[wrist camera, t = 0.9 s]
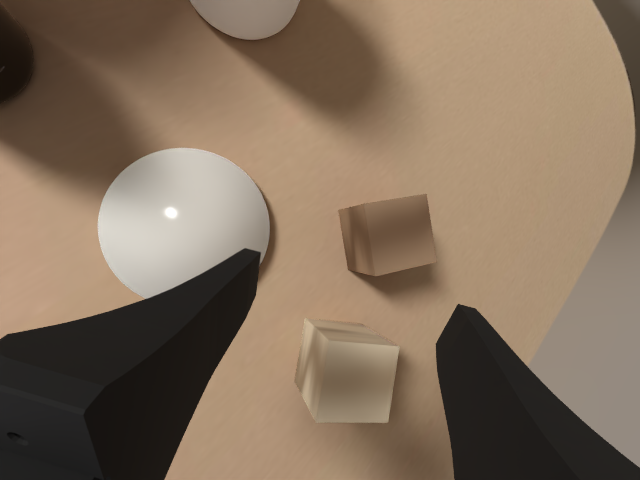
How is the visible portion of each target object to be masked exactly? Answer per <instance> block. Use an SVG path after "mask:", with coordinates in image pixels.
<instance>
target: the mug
mask: <svg viewBox="0 0 640 480" xmlns="http://www.w3.org/2000/svg"><path fill="white" fill-rule="evenodd" d="M190 2H191V4H192V5H193V7H194V8H195V9H196V11H197V12H198V13H199V14H200V15H201V16H202V17H203V18H204V19H205V20H206V21H207V22H208V23H209V24H211V25H212V26H214V27H215V28H216V29H218V30H220V31H221V32H223V33H225V34H228V35H230V36H233V37H236V38H240V39H246V40H257V39H263V38H267V37H270V36H272V35H275V34H276V33H278V32H280V31H281V30H282V29H283V28H284V27H285V26H286V25H287V24H288V23H289V22H290V20H291V19H292V17H293V15H294V14H295V11H296V9H297V7H298V4H299V2H300V0H190Z"/></svg>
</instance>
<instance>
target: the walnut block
mask: <svg viewBox="0 0 640 480" xmlns="http://www.w3.org/2000/svg"><path fill="white" fill-rule="evenodd" d="M338 211H339V217H340V223H341V229H342V236H343V242H344V248H345V254H346V260H347V266H348V270H351V271H355V272H359V273H364V274H368V275H372V276H380V275H384V274H388V273H392V272H397V271H401V270H405V269H409V268H414V267H418V266H422V265H426V264H431V263H435V262H437V260H436V254H435V247H434V240H433V234H432V227H431V220H430V214H429V207H428V201H427V194H423V195H417V196H410V197H404V198H398V199H391V200H385V201H379V202H372V203H366V204H361V205H357V206H353V207H349V208H345V209H341V210H338Z"/></svg>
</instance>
